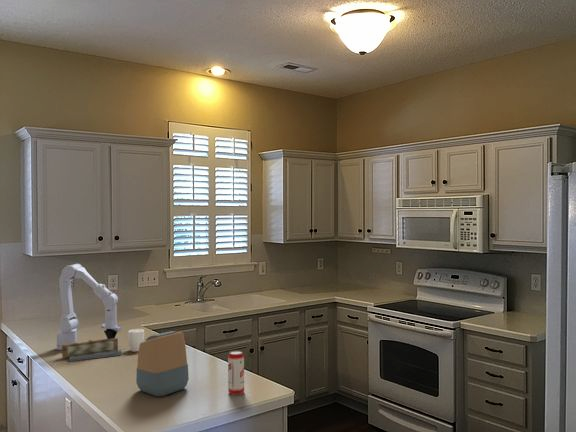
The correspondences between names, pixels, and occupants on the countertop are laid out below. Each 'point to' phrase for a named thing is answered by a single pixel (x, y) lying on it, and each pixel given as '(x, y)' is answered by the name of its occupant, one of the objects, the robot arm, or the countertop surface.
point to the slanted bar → (95, 355)
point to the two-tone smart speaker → (162, 364)
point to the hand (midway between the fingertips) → (111, 343)
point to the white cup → (135, 339)
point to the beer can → (236, 373)
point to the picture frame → (89, 347)
